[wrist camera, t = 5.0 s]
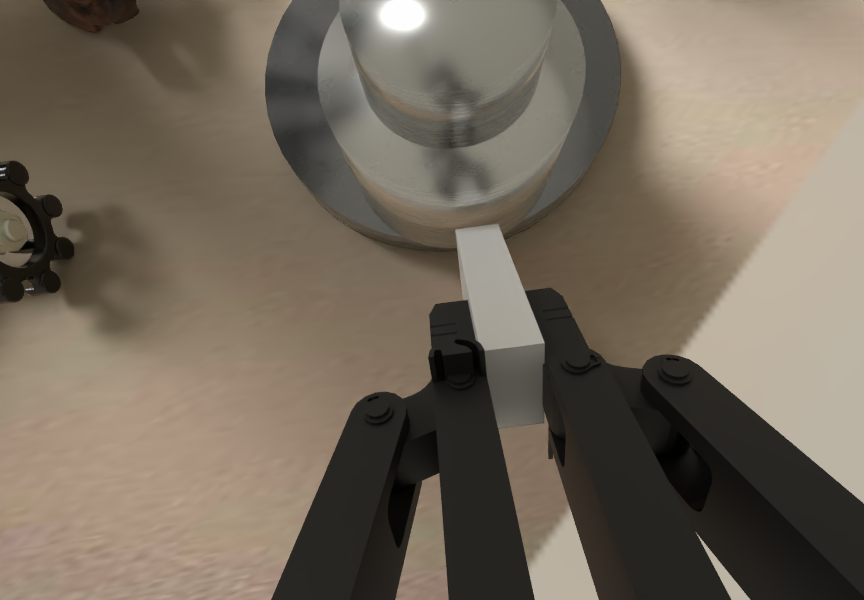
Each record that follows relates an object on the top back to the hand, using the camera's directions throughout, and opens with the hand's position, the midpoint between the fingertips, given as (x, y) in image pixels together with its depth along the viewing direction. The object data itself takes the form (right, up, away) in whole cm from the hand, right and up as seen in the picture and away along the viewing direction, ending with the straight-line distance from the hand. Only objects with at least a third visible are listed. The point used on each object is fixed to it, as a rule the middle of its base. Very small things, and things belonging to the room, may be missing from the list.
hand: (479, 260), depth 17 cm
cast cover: (-1, +5, +5) cm, 7 cm away
